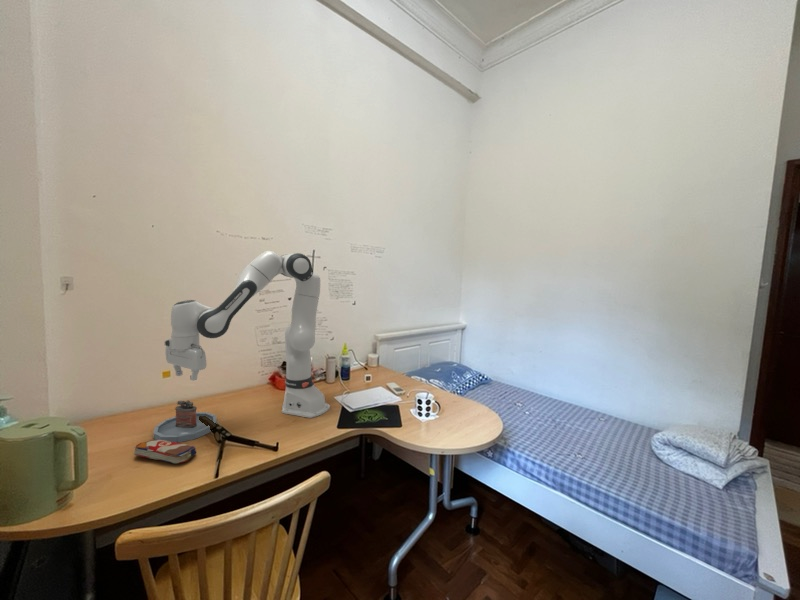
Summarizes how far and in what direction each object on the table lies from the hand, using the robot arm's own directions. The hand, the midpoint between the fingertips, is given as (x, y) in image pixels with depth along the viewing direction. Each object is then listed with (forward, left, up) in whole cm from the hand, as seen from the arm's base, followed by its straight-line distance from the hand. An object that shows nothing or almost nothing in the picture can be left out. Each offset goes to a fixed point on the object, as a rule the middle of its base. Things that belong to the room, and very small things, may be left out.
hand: (186, 377), depth 118 cm
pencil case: (-13, +14, -21) cm, 29 cm away
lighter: (0, 0, -20) cm, 20 cm away
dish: (0, 0, -21) cm, 21 cm away
